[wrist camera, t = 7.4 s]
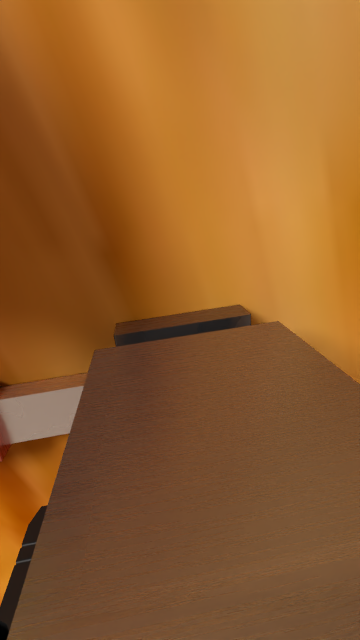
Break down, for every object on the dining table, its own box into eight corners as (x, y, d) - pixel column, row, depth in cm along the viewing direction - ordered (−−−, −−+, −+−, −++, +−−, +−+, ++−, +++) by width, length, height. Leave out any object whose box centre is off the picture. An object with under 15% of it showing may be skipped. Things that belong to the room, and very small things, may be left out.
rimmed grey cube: (94, 350, 11) (-27, 749, 3) (278, 321, 12) (615, 582, 4) (127, 491, 14) (113, 928, 5) (278, 461, 14) (476, 812, 6)
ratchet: (-160, 365, 13) (-408, 493, 7) (239, 304, 15) (310, 368, 9) (-93, 485, 16) (-237, 657, 10) (245, 422, 17) (304, 536, 11)
